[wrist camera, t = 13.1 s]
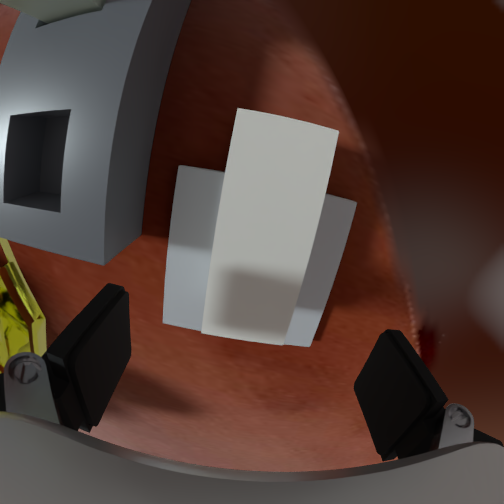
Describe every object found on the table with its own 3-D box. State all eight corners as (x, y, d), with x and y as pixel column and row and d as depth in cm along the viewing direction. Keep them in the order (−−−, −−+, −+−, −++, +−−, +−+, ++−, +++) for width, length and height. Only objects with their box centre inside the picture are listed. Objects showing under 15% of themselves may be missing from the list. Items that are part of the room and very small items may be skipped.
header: (83, -18, 9) (51, -42, 4) (205, -35, 10) (194, -78, 5) (29, 213, 15) (-16, 232, 11) (141, 234, 16) (104, 265, 11)
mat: (182, 165, 15) (178, 165, 14) (352, 200, 15) (357, 202, 15) (165, 316, 18) (162, 322, 17) (307, 340, 19) (309, 346, 18)
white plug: (210, 293, 16) (240, 121, 13) (276, 304, 17) (315, 137, 13) (201, 333, 13) (237, 107, 9) (283, 345, 13) (338, 131, 10)
